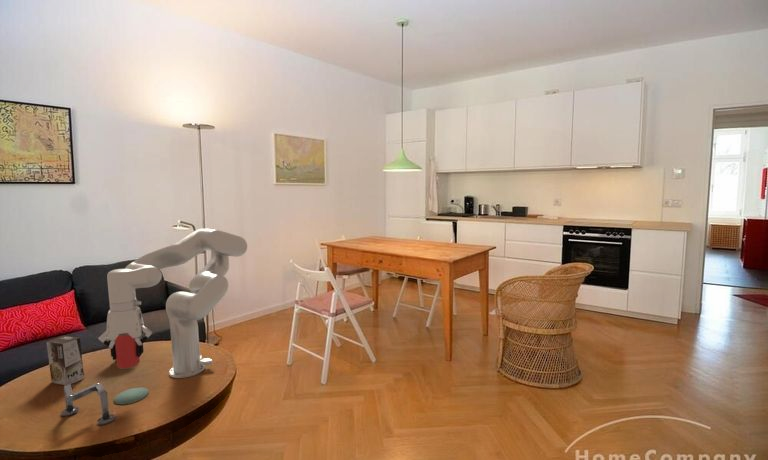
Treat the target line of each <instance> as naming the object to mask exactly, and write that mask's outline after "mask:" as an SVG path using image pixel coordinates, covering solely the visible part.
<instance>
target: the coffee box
mask: <svg viewBox="0 0 768 460" xmlns="http://www.w3.org/2000/svg"><path fill="white" fill-rule="evenodd" d="M46 349H47V350H46V351H47V357H48V364H49V372H50V379H51V380H50V381H51V384H52V383H53V384H57V385H62V386H65V385H67V384H71V385H73V384H74V383H77V382H79V381H82V380H84V379H85V372H84V364H83V363H84V362H83V354H82V344H81V337H79V336H78V337H76V336H70V335H61V336H59V337H56V338H53V339H51V340H48V341H46Z"/></svg>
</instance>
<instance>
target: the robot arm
mask: <svg viewBox="0 0 768 460" xmlns="http://www.w3.org/2000/svg"><path fill="white" fill-rule="evenodd" d="M247 250H248V243H247V240H246V239H244V237H242V236H239V235H236V234H233V233H229V232H226V231H223V230H219V229H211V228H199V229H196V230H193V231H192V232H191V233H189V234H188V235H186V236H184V237H182V238H180V239H178V240H177V241H175V242H174V243H171V244H170V245H167V246H165V247H162V248H160V249H157V250H154V251H151V252H148V253H146V254H144V255H142V256H141V257H138V258H137V259H135V260H134V261H132V262H130V263H129V264H127V265H126V266H125V268H117V269H112V270H110V271H109V272H108V273H107V276H106V277H107V279H106V280H107V281H106V282H107V291H108V301H109V310H108V312H107V315H106V316H107V317H106V330H105V331H104V332H103V333H102V334H100V336H99V337H98V340H99V341H100V342H102V343H103V344H104V345H105V346H107V347H108V349H110V357H111V358H112V360H113V361H115V359H116V350H115V340H116V338H117V337H118V336H119V335H118V334H127V333H129V334H128V335H130V336H131V337H132V338H135V341H136V342H137V346H136V349H137V357H139V358H140V357H141V356H142V355H143V354H144V351H145V350H144V343H146V341H147V339H148V338H149V337H150V336H151V335H152V334H153V330H151V329H149V328H148V327H147V326H145V322H144V318H143V314H142V313H143V312H142V310H141V307H140V306H141V305H142V301H141V300H138V299H137V295H136V290H137V289H143V288H151V287H154V286H156V285H158V284H159V283H160V281H161V280H162V276H163V275H162V271H161V270H162V269H166V268H170V267H171V268H172V267H178V266H181V265H184V264H186V263H188V262H189V261H191V260H192V259H194V258H195V257H197V256H198V255H200V254H202V253H203V252H205V251H210V252H211V253H210V260H209V261H208V262H207V264H206V265H205V266H204V267H203V268H201V270H199V271H198V273H196V274H195V275H194V276H193V277H192V279H190V281H189V284H188V289H189V291H190V292H189V291H183V290H182V291H176V292H173V293H172V294H170V295H169V296H168V298H166V299H167V300H166V301H165V310H166V311H165V312H166V314H167V315H166V316H167V317H168V318H167V319H168V321H169V329H170V330H169V331H170V341H171V343H170V344H171V354H172V355H171V356H172V367H171V368H170V369H169V371H168V374H169V376H170V377H171V378H174V379H183V378H190V377H193V376H196V375H198V374H201V373H202V372H203V371H204V370H205V369H206V366H210V365H213V359H211V358H210V357H207V358H203V357H202V356H203V355H202V354H201V352H200V351H201V350H200V337H199V325H198V321H199V320H200V321H201V320H202V319H204V318H205V317H207V316H208V314H210V313H211V311H213V310H214V308H216V306H217V305H218V304H219V303H220V302H221V301H222V300H223V298H224V297H225V296H226V294H227V292H228V290H229V281H228V279H227V278H226V277H225V276H226V275H227V273H228V271H229V268H230V257H236V258H237V257H238V258H239V257H242V256H243V255H244V254H245V253H246V252H247ZM143 334H145V335H144V336H143V337H142V335H143ZM106 337H107V338H108V339H107V338H106ZM110 340H111V341H110Z"/></svg>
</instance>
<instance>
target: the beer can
mask: <svg viewBox="0 0 768 460" xmlns="http://www.w3.org/2000/svg"><path fill="white" fill-rule="evenodd" d="M128 334H129V333H127V334H118V335H119V336H118V337H117V338H116V340H115V350H116V361H117V362H116V361H115V362H116V367H117V368H118V369H120V370H121V369H122V370H126V369H131V368H133V367H135V366H138V365H139V364H140V357H137V349H136V346H137V342H136V341H135V338H132V337H131V336H130V335H128Z"/></svg>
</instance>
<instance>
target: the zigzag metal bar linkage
mask: <svg viewBox="0 0 768 460" xmlns="http://www.w3.org/2000/svg"><path fill="white" fill-rule="evenodd" d="M63 392H64V401H65V402H64V403H65V409H63V410H62V411H61V413H60V414H61V416H62V417H70V416H73V415H75V414H77V413H78V412H80V408H79V407H80V406H76V405H75V406H74V402H76V401H77V400H79V399H81V398H84V397H86V396H88V395H90V394H92V393H95V392H96V394H97V395H98V396H99V398H100V407H101V408H100V409H101V417H99V418H98V419H97V420H96V421H97V425H98V426H105V425H108V424H110V423H113V422H114V421H115V419H116V416H115V415H114V414H112V413H111V414H110V408H109V407H110V406H109V397H108V391H107V390H106V389H105V387H104V385H102V383H101V382H97V383H94V384H92V385H89V386H87V387H85V388H82V389H80V390H78V391H76V392H73V389H72V384H67V385H63Z"/></svg>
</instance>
